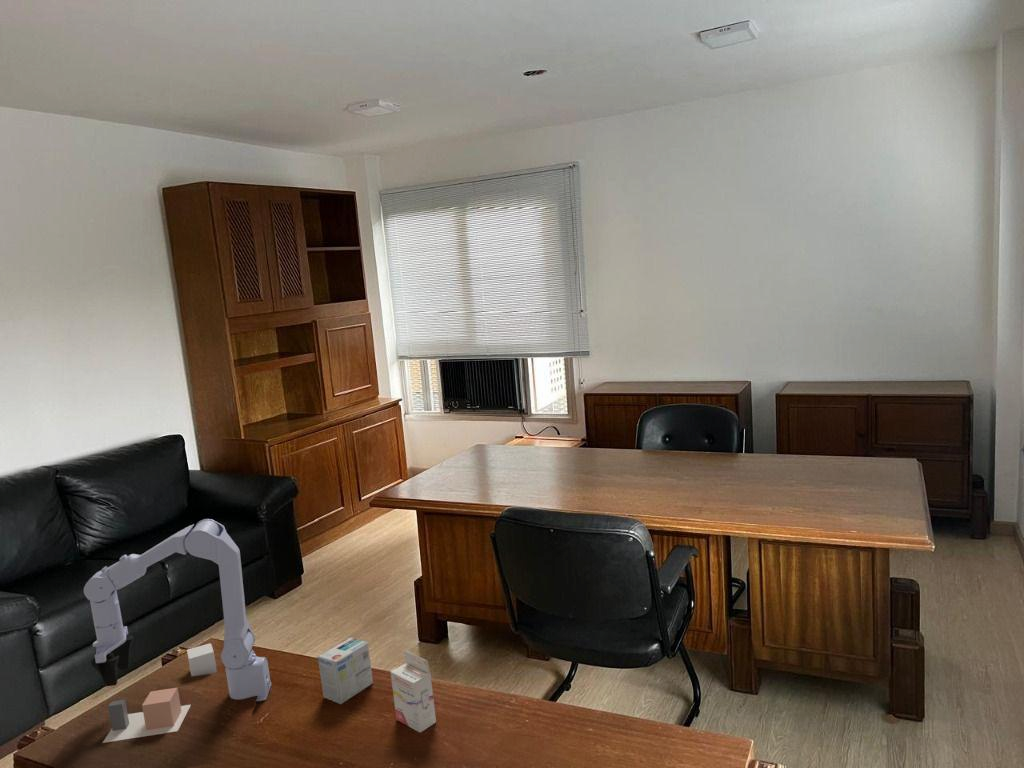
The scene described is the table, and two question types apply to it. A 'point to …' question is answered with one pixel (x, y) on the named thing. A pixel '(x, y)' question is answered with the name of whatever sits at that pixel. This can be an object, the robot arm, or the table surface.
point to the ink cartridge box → (413, 693)
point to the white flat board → (135, 723)
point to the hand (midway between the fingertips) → (118, 676)
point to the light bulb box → (345, 670)
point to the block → (161, 708)
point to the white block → (201, 660)
